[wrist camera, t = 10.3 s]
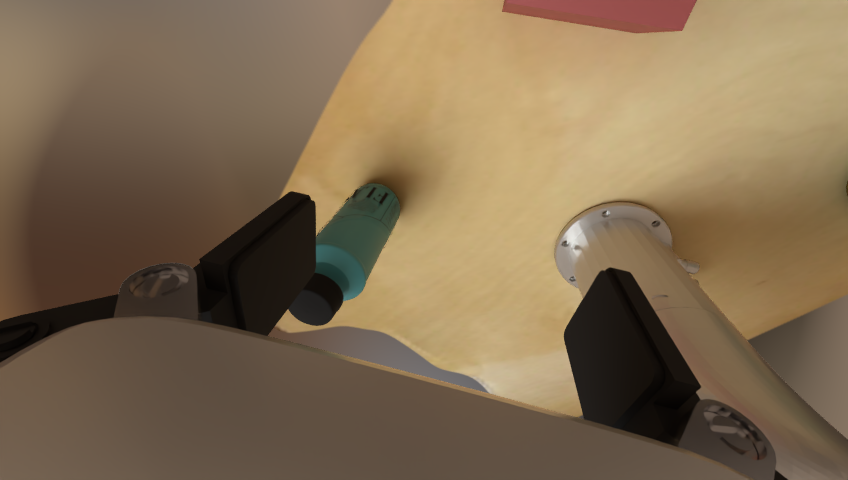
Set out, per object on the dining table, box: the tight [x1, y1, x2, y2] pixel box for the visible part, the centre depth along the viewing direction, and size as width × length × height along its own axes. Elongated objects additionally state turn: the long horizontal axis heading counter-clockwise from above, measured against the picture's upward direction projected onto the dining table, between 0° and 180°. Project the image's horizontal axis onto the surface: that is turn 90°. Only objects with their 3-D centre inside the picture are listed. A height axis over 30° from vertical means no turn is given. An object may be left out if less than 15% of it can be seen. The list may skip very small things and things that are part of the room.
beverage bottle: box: [288, 183, 401, 326], centre depth 33 cm, size 6×7×20 cm
